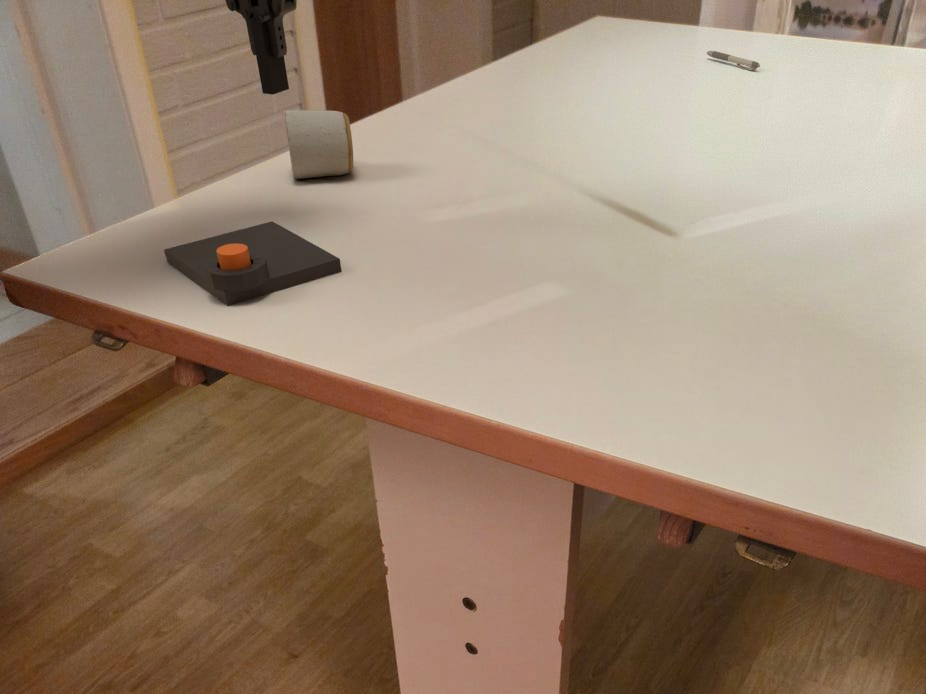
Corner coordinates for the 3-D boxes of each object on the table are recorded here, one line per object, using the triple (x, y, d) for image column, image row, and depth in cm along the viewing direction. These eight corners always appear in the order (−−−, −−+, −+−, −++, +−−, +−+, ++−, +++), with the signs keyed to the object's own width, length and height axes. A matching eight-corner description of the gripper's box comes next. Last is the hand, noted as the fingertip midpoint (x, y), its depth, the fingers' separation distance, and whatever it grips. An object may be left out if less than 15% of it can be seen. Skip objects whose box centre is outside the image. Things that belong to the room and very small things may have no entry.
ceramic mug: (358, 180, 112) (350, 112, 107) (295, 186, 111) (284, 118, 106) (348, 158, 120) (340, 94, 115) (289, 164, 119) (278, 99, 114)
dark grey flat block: (163, 263, 94) (155, 234, 92) (274, 233, 99) (269, 205, 97) (227, 311, 84) (220, 280, 82) (346, 274, 90) (342, 245, 88)
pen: (756, 72, 149) (757, 62, 148) (703, 58, 158) (704, 49, 157) (760, 71, 150) (762, 62, 149) (708, 58, 159) (709, 48, 158)
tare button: (215, 266, 86) (211, 248, 85) (243, 259, 87) (239, 240, 86) (228, 275, 84) (224, 257, 83) (256, 267, 85) (252, 249, 84)
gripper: (143, -205, 79) (208, 93, 96) (252, -211, 74) (300, 105, 91) (201, -207, 84) (253, 78, 100) (307, -212, 79) (343, 88, 95)
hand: (276, 90), depth 95 cm, fingers closed
